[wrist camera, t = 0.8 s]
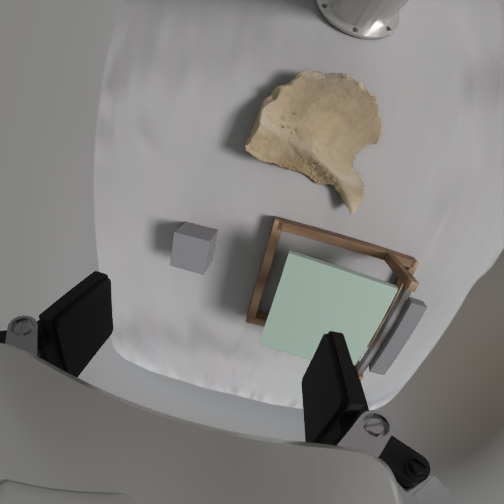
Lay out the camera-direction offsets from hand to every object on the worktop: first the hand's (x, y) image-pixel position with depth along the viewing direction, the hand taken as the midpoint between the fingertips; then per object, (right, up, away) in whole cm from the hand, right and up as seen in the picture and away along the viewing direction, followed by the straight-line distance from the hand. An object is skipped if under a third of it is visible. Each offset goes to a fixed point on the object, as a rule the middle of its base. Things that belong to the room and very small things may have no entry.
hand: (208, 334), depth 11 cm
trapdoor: (+14, -6, +23) cm, 27 cm away
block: (-6, +5, +30) cm, 31 cm away
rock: (+12, +19, +23) cm, 32 cm away
